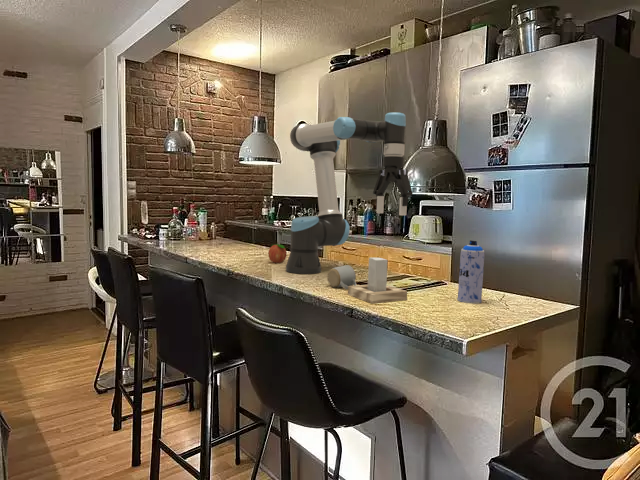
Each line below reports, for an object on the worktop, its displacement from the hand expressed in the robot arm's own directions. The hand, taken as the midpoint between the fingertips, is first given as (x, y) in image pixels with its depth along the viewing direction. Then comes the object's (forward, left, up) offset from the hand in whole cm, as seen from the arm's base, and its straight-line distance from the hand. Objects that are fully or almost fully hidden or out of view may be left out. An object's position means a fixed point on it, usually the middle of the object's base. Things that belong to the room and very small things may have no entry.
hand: (390, 214), depth 175 cm
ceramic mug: (-3, -18, -27) cm, 32 cm away
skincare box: (+15, -16, -26) cm, 34 cm away
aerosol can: (+31, +10, -27) cm, 42 cm away
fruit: (-63, -17, -27) cm, 71 cm away
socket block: (+15, -16, -27) cm, 35 cm away
